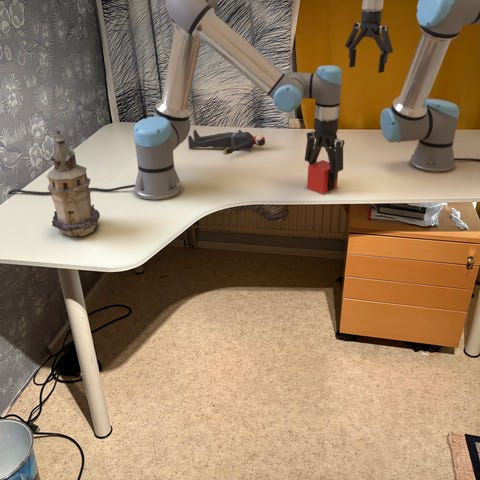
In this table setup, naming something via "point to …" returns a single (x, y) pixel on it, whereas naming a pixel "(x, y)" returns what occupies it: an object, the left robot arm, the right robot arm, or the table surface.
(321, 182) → the red cube
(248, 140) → the toy
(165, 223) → the table surface
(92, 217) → the miniature building
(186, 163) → the table surface
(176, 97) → the left robot arm
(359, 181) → the table surface
